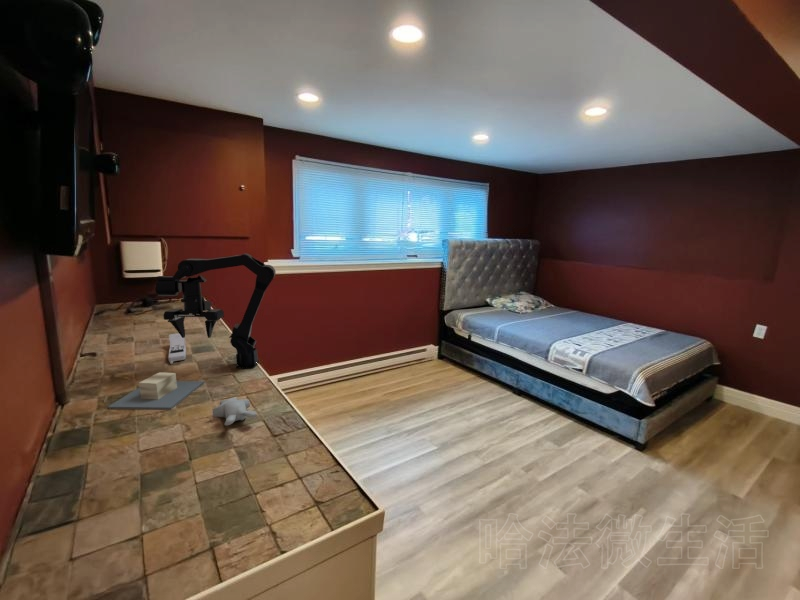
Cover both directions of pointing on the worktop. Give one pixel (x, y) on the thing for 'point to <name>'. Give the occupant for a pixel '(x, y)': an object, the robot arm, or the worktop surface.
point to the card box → (158, 385)
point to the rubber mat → (165, 402)
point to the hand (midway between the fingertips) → (196, 337)
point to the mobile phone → (176, 348)
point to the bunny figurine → (233, 410)
